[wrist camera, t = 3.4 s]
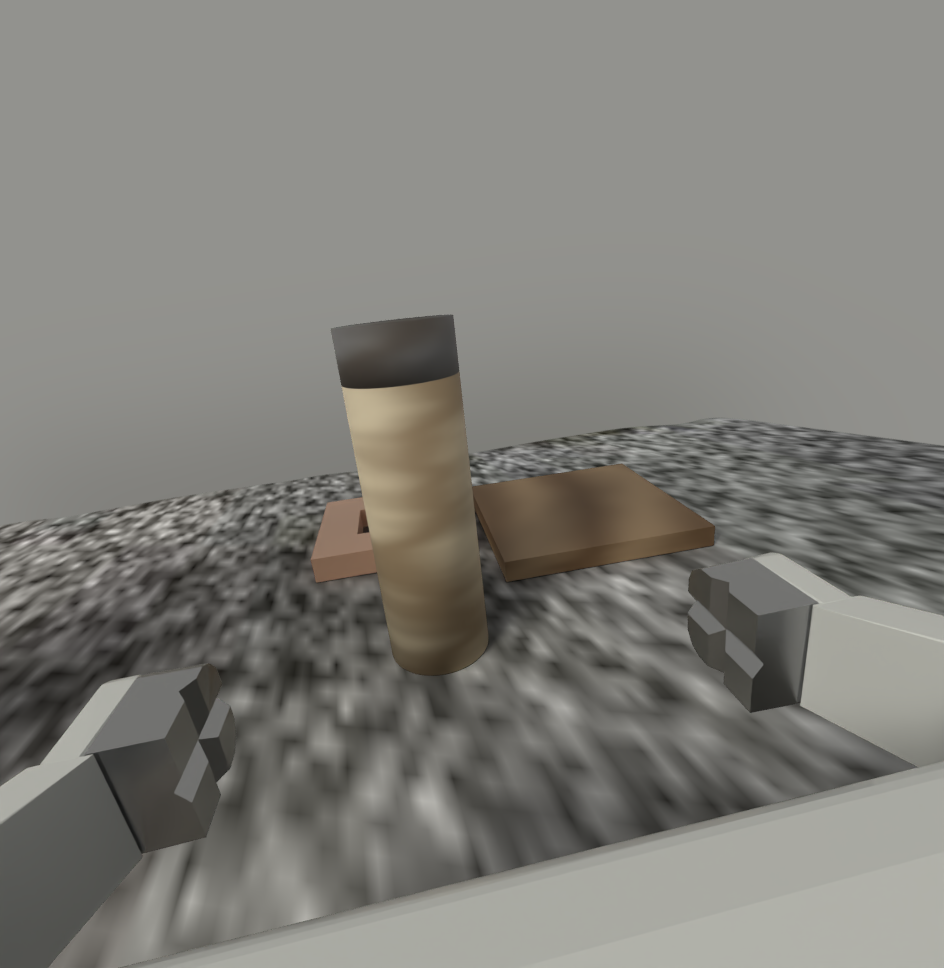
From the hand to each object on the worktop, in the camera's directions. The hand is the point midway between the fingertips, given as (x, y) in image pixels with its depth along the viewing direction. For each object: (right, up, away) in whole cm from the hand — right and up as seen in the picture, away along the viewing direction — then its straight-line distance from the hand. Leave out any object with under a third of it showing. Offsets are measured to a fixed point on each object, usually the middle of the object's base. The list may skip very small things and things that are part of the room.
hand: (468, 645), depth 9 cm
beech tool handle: (-1, -4, +15) cm, 15 cm away
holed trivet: (-5, -1, +26) cm, 26 cm away
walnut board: (+7, 0, +25) cm, 26 cm away
